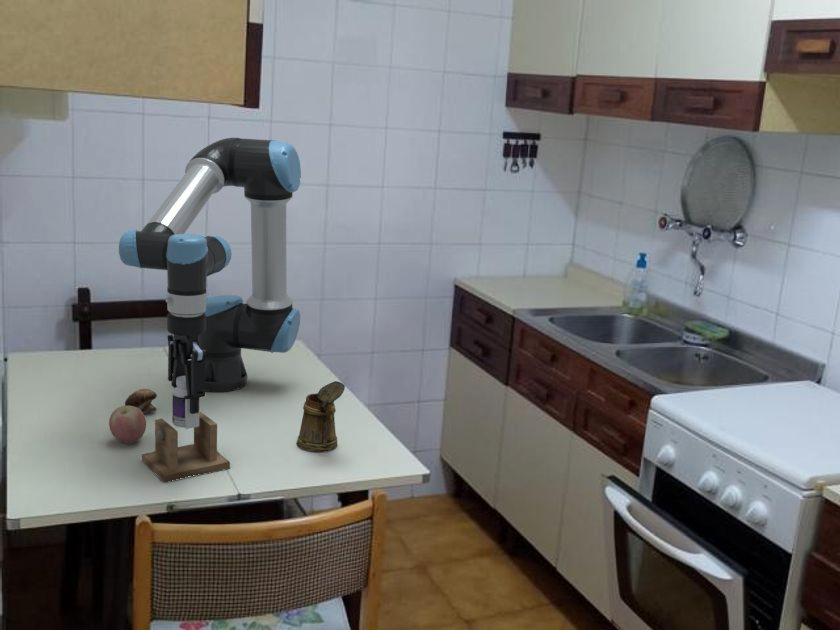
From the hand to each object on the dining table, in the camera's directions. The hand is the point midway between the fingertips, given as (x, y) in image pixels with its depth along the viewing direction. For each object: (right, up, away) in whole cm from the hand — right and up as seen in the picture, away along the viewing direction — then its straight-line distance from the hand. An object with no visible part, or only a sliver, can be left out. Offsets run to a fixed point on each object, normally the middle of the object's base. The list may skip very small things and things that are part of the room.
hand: (185, 421), depth 182 cm
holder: (-1, -9, +2) cm, 10 cm away
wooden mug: (+26, -8, +16) cm, 31 cm away
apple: (-16, -6, +12) cm, 21 cm away
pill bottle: (0, 0, 0) cm, 1 cm away
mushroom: (-18, -1, +29) cm, 35 cm away
